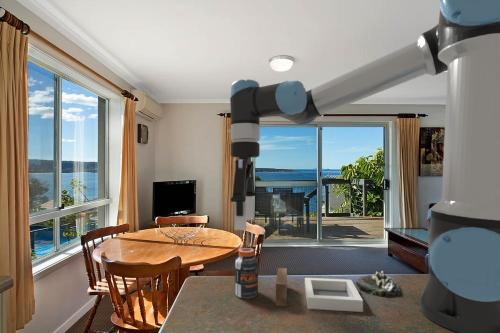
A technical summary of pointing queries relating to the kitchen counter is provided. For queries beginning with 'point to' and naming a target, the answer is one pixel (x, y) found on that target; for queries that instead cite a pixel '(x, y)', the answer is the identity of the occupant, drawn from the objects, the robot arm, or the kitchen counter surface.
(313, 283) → the plate
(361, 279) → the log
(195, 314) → the kitchen counter surface
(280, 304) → the door edge
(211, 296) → the kitchen counter surface
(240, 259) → the pill bottle
